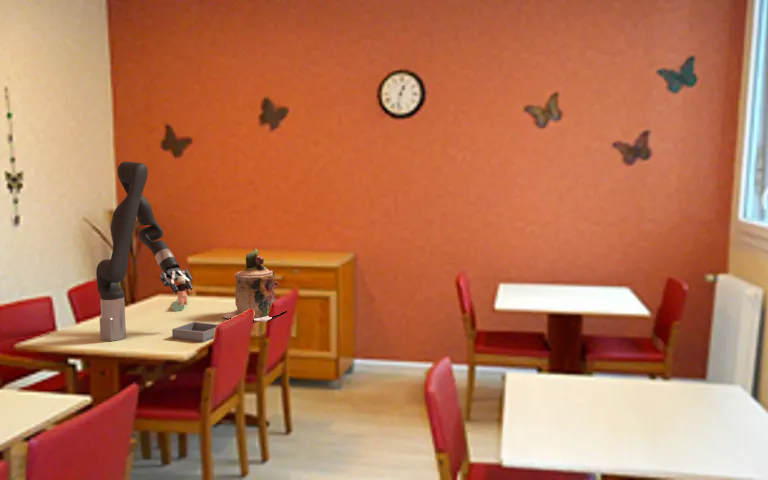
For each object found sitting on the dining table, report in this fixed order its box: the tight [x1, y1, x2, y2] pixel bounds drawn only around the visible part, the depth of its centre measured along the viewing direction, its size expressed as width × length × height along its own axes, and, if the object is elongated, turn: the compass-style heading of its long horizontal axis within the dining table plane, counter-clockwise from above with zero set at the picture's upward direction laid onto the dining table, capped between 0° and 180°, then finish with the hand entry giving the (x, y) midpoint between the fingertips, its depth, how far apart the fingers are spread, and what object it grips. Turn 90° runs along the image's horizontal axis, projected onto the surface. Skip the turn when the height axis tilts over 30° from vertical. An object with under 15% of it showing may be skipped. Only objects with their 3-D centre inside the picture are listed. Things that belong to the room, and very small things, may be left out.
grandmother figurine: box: [172, 276, 192, 306], centre depth 293 cm, size 8×4×13 cm, turn 132°
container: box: [172, 295, 189, 312], centre depth 347 cm, size 6×6×25 cm
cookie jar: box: [222, 248, 279, 323], centre depth 324 cm, size 25×25×32 cm
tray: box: [171, 321, 219, 343], centre depth 286 cm, size 14×16×4 cm
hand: (184, 290), depth 292 cm, fingers closed on grandmother figurine, 6 cm apart
